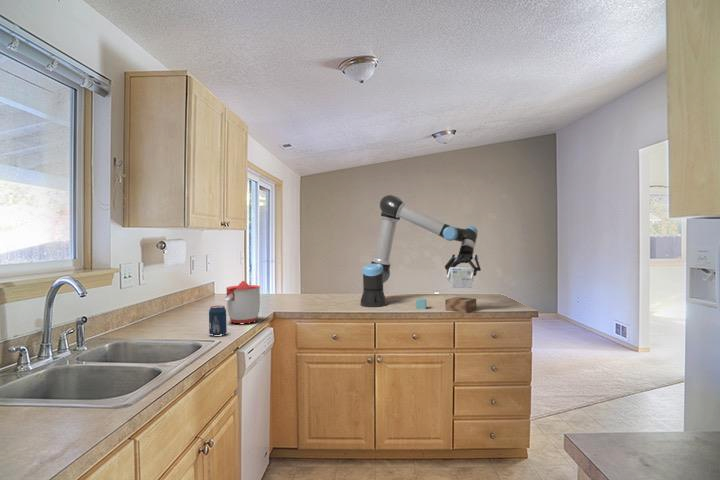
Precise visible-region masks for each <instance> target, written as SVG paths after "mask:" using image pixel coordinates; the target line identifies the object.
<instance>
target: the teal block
mask: <svg viewBox="0 0 720 480" xmlns="http://www.w3.org/2000/svg"><path fill="white" fill-rule="evenodd" d="M415 304H416V305H415V307H416V308H415V309H416V310H426V309H427V298H417V299H416V300H415Z"/></svg>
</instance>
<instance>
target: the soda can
mask: <svg viewBox="0 0 720 480" xmlns="http://www.w3.org/2000/svg"><path fill="white" fill-rule="evenodd" d="M227 329H228V328H227V309H226V308H225V305H213V306H210V308H209V310H208V332H209V335H210V334H213V335H220V334H225V333H226V334H227ZM226 334H225V335H226Z"/></svg>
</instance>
